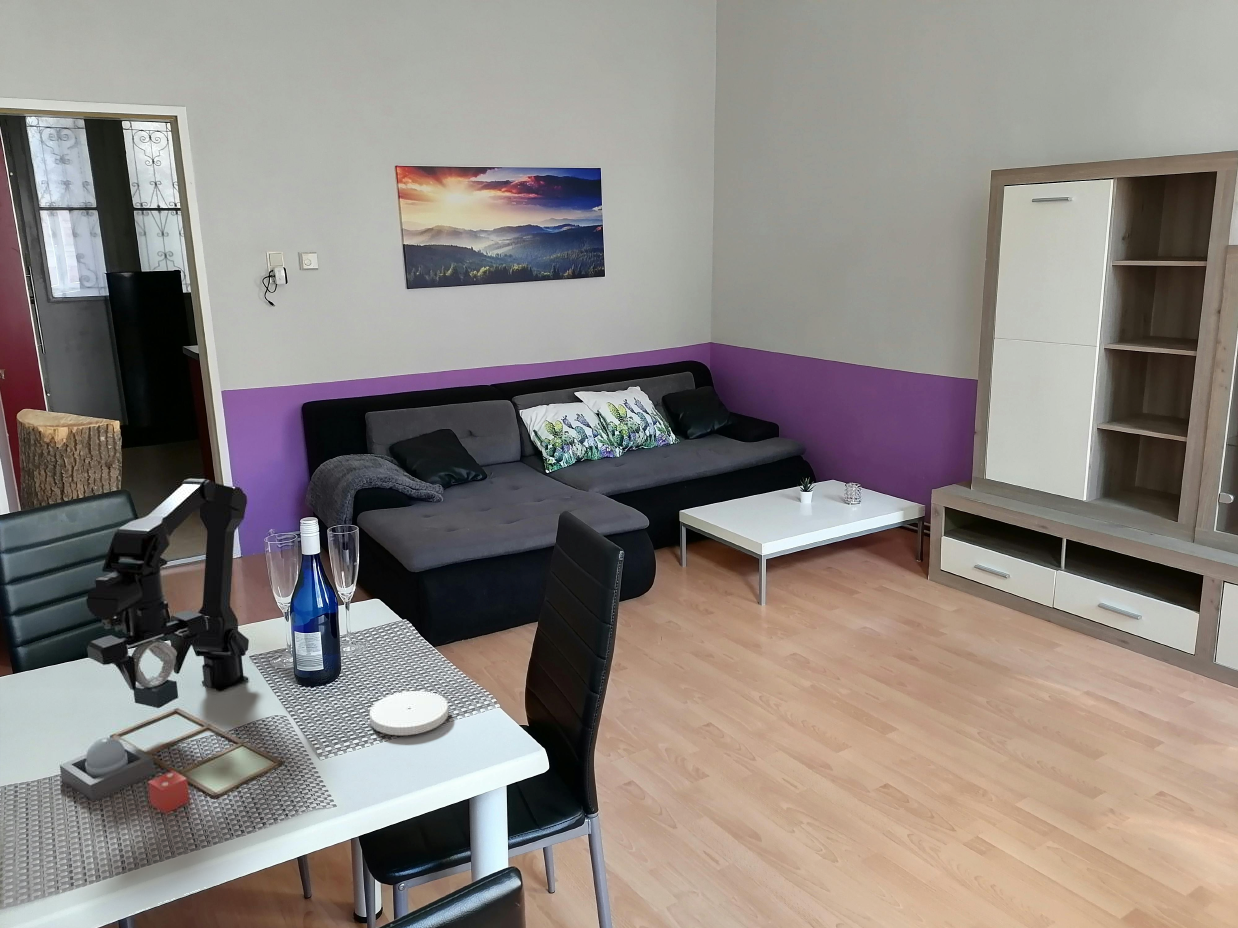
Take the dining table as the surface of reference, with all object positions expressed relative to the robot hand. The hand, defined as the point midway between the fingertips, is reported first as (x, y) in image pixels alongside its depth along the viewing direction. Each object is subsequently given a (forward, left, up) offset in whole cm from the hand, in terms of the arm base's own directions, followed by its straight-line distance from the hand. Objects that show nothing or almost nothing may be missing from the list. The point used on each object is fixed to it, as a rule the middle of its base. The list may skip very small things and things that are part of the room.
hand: (155, 681), depth 168 cm
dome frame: (+13, +7, -10) cm, 18 cm away
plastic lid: (-29, +32, -10) cm, 45 cm away
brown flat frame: (0, +11, -10) cm, 14 cm away
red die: (+11, +22, -10) cm, 27 cm away
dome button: (+13, +7, -9) cm, 17 cm away
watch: (0, 0, -4) cm, 4 cm away
